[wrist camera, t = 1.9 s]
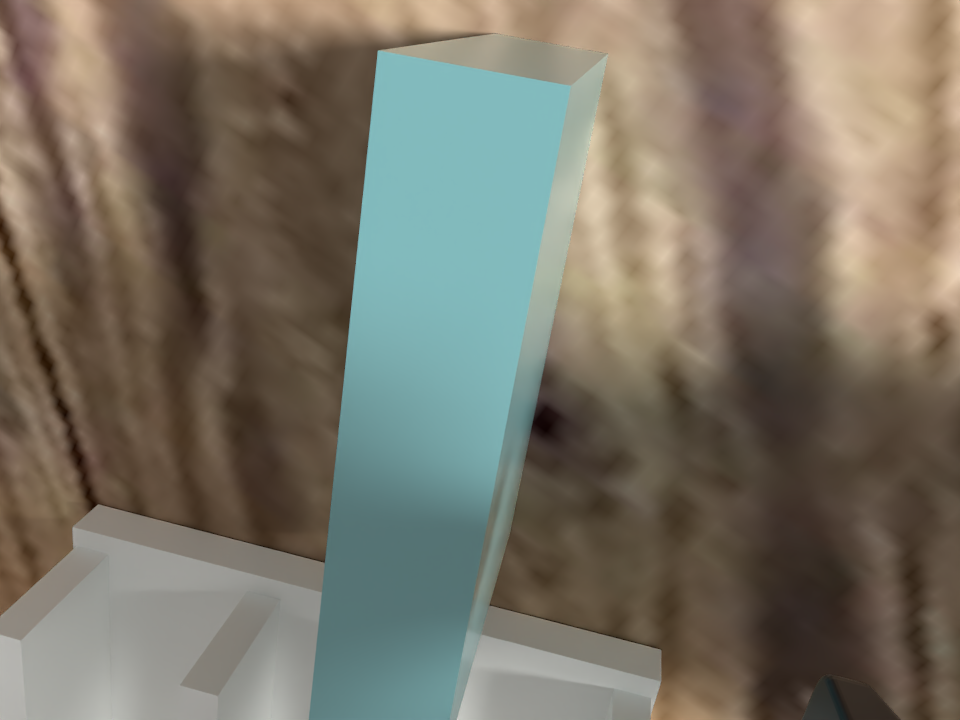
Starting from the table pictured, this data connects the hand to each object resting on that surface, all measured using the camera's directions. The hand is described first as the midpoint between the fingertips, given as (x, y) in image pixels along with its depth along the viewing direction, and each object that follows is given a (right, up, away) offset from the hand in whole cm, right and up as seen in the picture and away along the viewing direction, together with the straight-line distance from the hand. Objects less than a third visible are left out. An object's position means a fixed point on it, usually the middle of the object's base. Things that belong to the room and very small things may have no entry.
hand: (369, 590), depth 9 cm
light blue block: (+2, +3, +8) cm, 9 cm away
